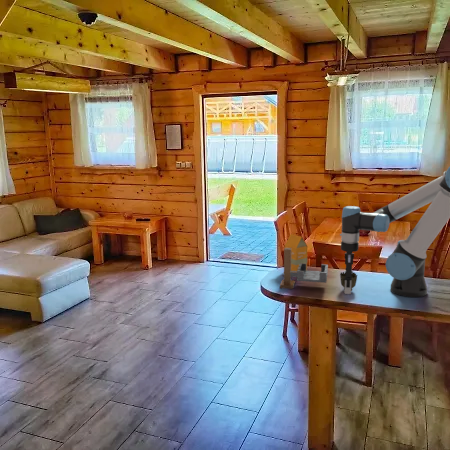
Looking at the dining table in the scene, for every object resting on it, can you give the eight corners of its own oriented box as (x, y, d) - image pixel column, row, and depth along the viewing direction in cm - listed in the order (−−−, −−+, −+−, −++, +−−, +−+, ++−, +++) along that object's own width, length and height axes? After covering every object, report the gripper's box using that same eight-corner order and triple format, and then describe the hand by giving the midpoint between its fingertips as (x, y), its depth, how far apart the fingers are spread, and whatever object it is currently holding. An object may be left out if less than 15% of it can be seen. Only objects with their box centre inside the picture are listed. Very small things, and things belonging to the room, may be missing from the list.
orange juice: (295, 276, 222) (296, 237, 217) (284, 272, 229) (284, 234, 225) (307, 273, 226) (308, 235, 222) (295, 269, 233) (296, 232, 229)
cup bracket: (327, 283, 210) (328, 247, 206) (325, 293, 198) (327, 254, 194) (283, 280, 216) (283, 244, 212) (279, 289, 203) (279, 251, 200)
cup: (358, 293, 197) (359, 276, 195) (341, 293, 197) (342, 276, 195) (354, 287, 204) (354, 271, 202) (337, 288, 204) (338, 271, 203)
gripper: (341, 235, 207) (339, 282, 211) (340, 246, 187) (338, 297, 192) (358, 236, 205) (356, 283, 209) (359, 247, 185) (356, 299, 190)
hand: (347, 290), depth 201 cm, fingers open, 8 cm apart
